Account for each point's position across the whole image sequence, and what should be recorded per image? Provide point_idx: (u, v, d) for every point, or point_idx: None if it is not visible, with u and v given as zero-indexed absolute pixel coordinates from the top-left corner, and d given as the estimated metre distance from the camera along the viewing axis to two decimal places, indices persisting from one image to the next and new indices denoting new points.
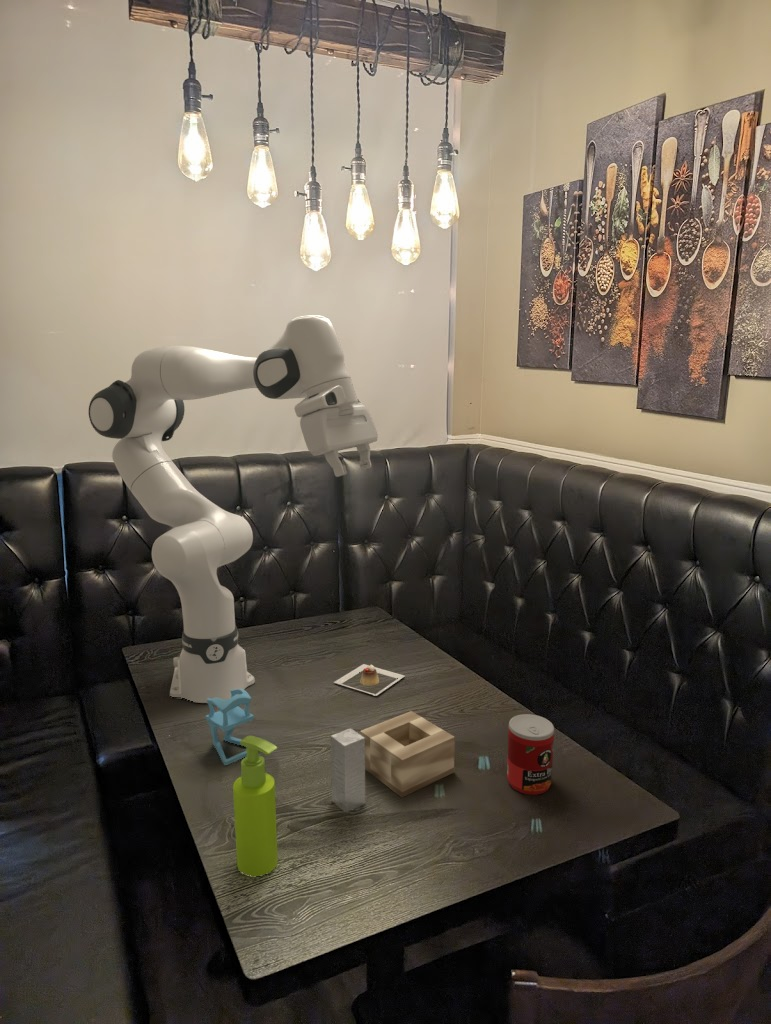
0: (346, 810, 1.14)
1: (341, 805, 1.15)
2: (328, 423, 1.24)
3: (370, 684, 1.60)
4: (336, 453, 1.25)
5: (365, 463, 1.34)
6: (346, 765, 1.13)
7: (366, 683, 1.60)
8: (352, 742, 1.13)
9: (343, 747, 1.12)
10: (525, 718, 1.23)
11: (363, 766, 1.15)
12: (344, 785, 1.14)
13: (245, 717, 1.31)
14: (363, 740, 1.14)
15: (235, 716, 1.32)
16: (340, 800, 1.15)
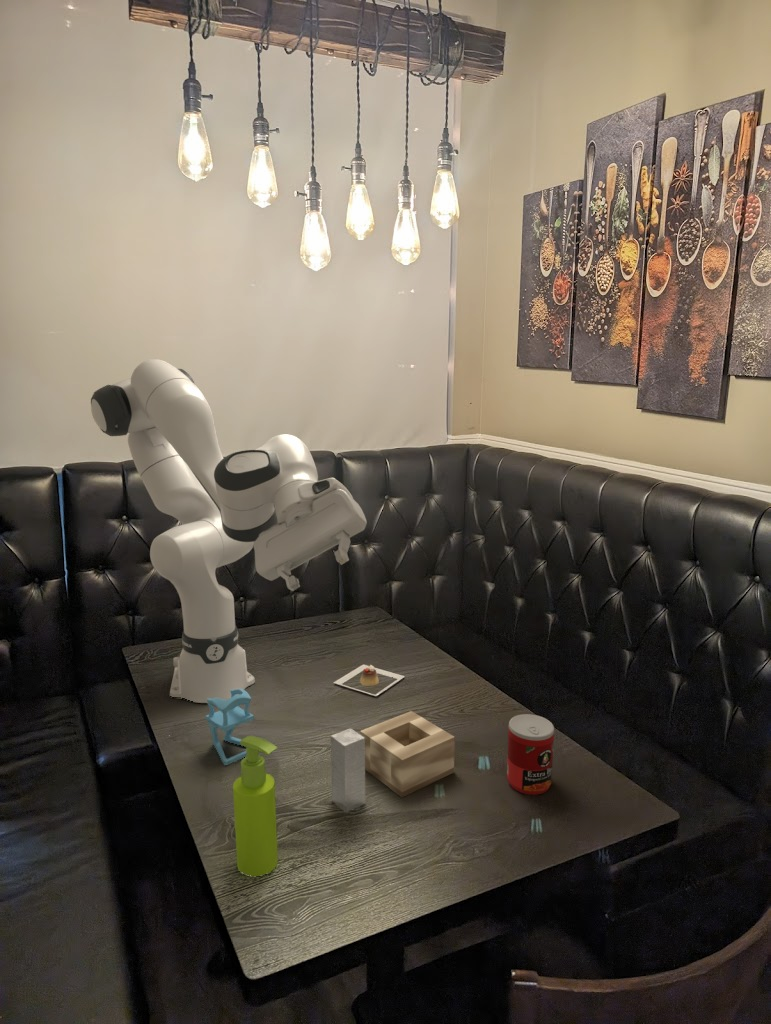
0: (346, 810, 1.14)
1: (341, 805, 1.15)
2: None
3: (370, 684, 1.59)
4: None
5: (296, 582, 1.14)
6: (346, 765, 1.13)
7: (366, 683, 1.59)
8: (352, 742, 1.13)
9: (343, 747, 1.12)
10: (525, 718, 1.23)
11: (363, 766, 1.15)
12: (344, 785, 1.14)
13: (245, 717, 1.31)
14: (363, 740, 1.14)
15: (235, 716, 1.32)
16: (340, 800, 1.15)
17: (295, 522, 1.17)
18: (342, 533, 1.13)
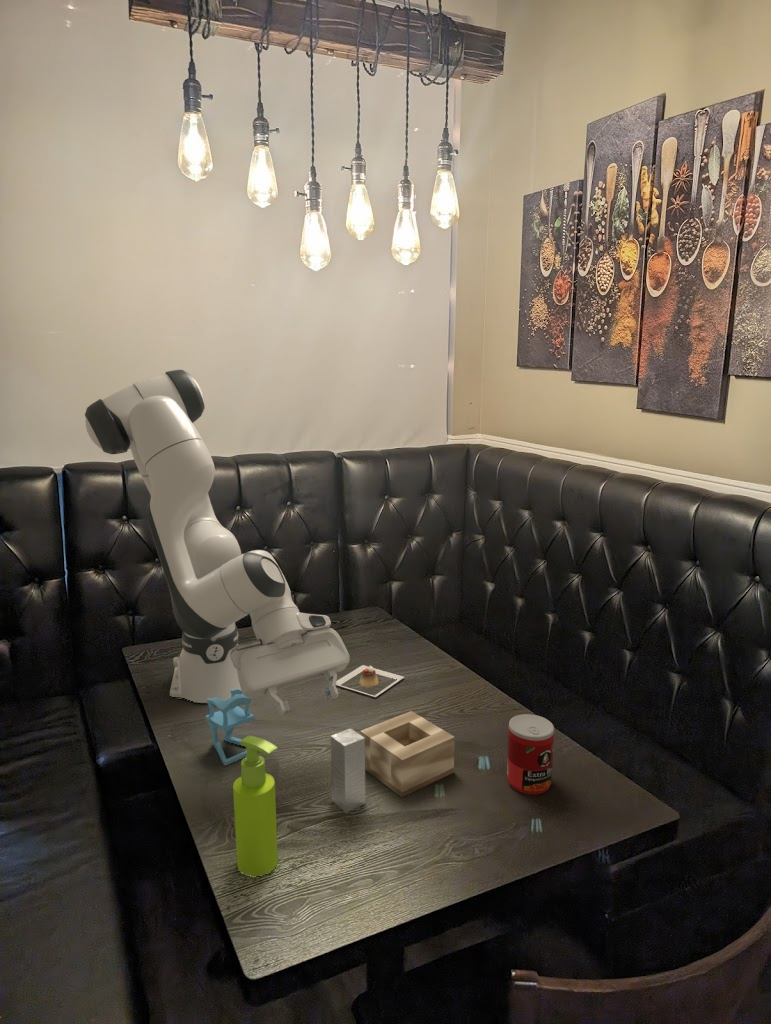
0: (346, 810, 1.14)
1: (341, 805, 1.15)
2: None
3: (369, 685, 1.59)
4: None
5: None
6: (346, 765, 1.13)
7: (365, 684, 1.59)
8: (352, 742, 1.13)
9: (343, 747, 1.12)
10: (525, 718, 1.23)
11: (363, 766, 1.15)
12: (344, 785, 1.14)
13: (245, 717, 1.31)
14: (363, 740, 1.14)
15: (235, 716, 1.32)
16: (340, 800, 1.15)
17: (287, 647, 1.22)
18: (334, 671, 1.24)
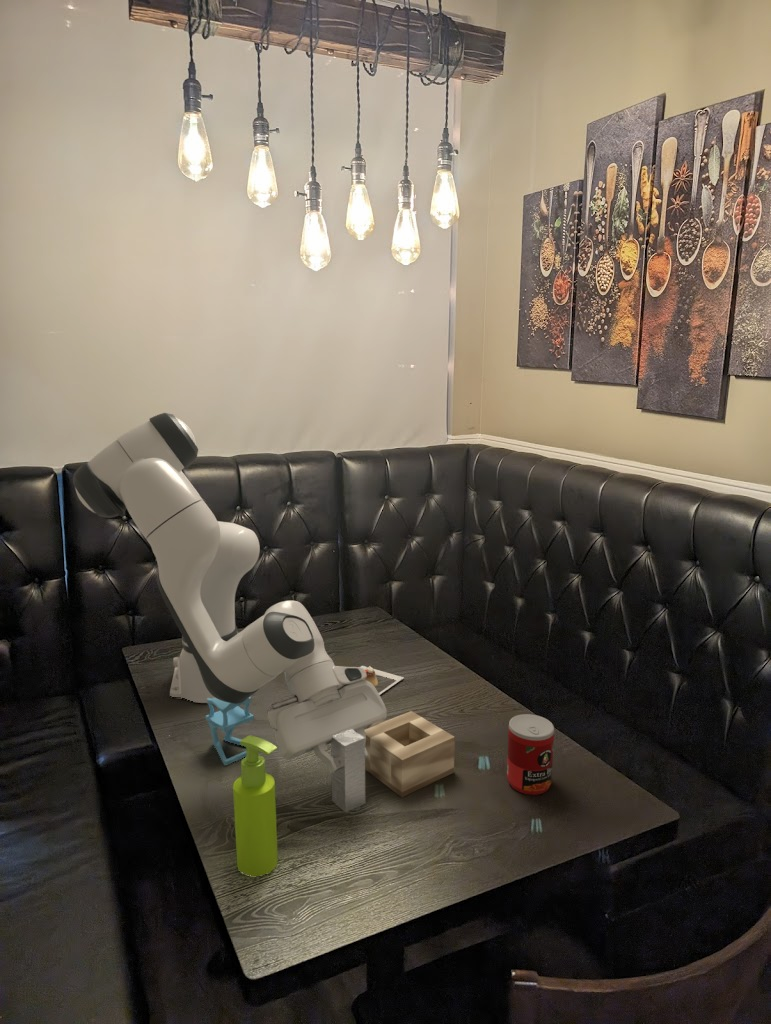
0: (346, 810, 1.14)
1: (341, 805, 1.15)
2: None
3: None
4: None
5: None
6: (346, 765, 1.13)
7: None
8: (352, 742, 1.13)
9: (343, 747, 1.12)
10: (525, 718, 1.23)
11: (363, 766, 1.15)
12: (344, 785, 1.14)
13: (245, 717, 1.31)
14: (363, 740, 1.14)
15: (235, 716, 1.32)
16: (340, 800, 1.15)
17: (325, 703, 1.18)
18: (363, 730, 1.19)
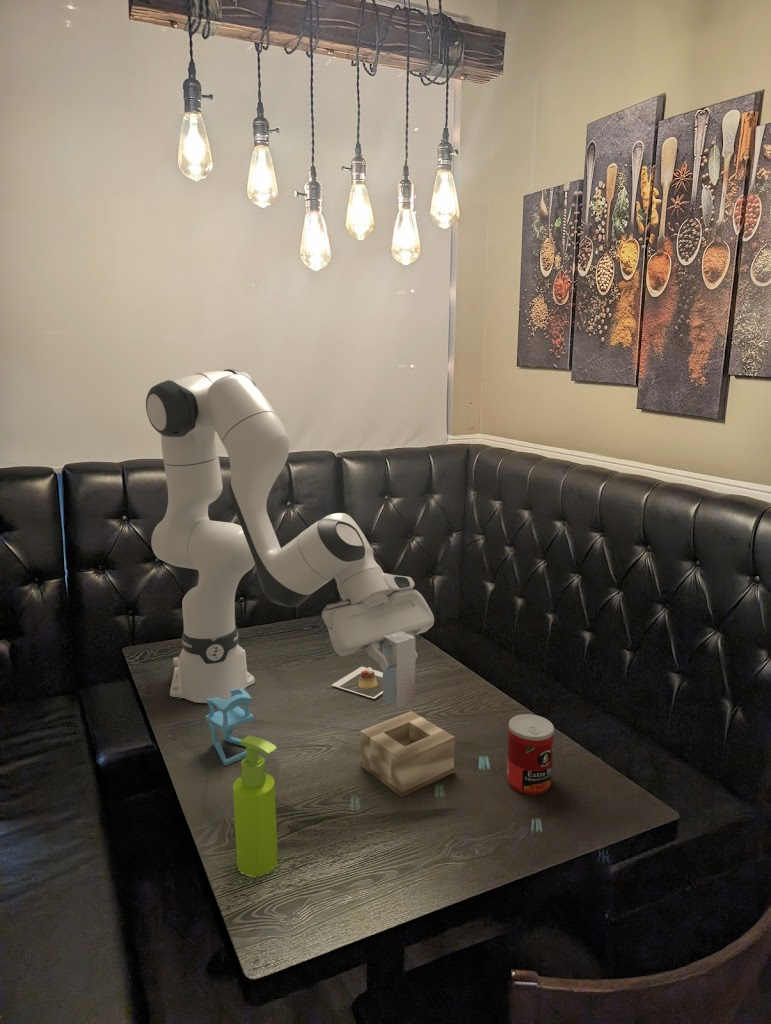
0: (397, 706, 1.19)
1: (392, 702, 1.20)
2: None
3: (368, 687, 1.58)
4: None
5: None
6: (398, 662, 1.18)
7: (364, 686, 1.58)
8: (404, 640, 1.18)
9: (396, 644, 1.17)
10: (525, 718, 1.23)
11: (413, 665, 1.20)
12: (396, 682, 1.18)
13: (245, 717, 1.31)
14: (414, 639, 1.19)
15: (235, 716, 1.32)
16: (391, 698, 1.20)
17: (376, 607, 1.23)
18: (412, 634, 1.24)
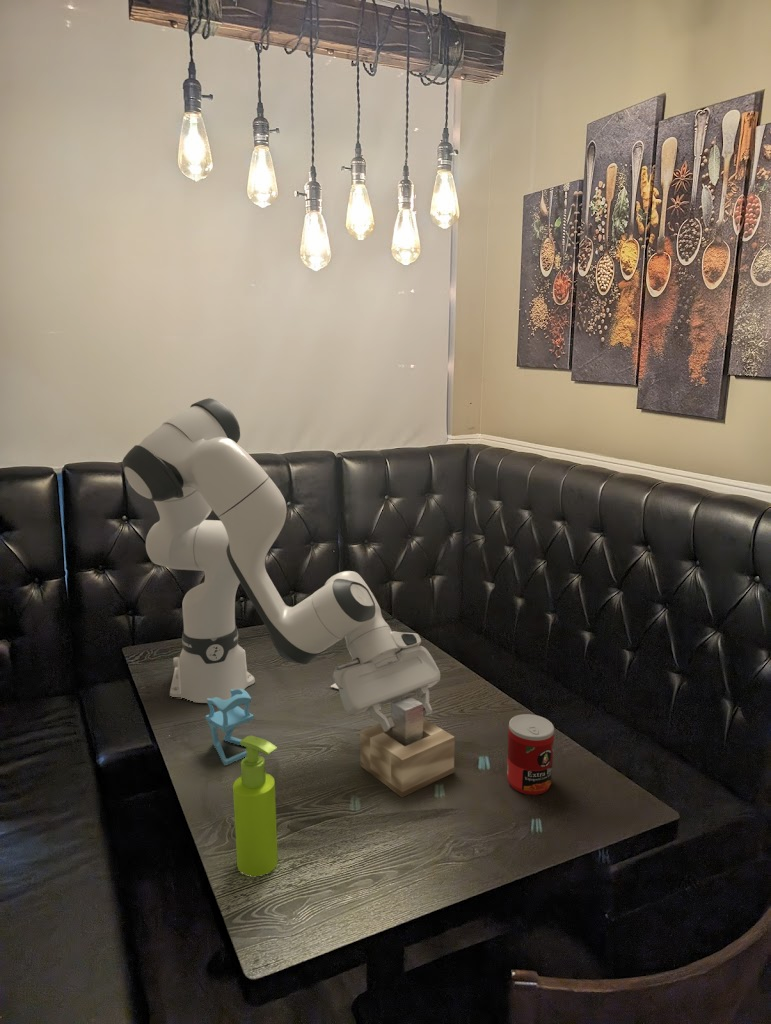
0: None
1: None
2: None
3: None
4: None
5: None
6: (407, 728, 1.22)
7: None
8: (412, 707, 1.22)
9: (404, 711, 1.21)
10: (525, 718, 1.23)
11: (421, 730, 1.24)
12: None
13: (245, 717, 1.31)
14: (422, 706, 1.23)
15: (235, 716, 1.32)
16: None
17: (384, 665, 1.26)
18: (426, 688, 1.29)
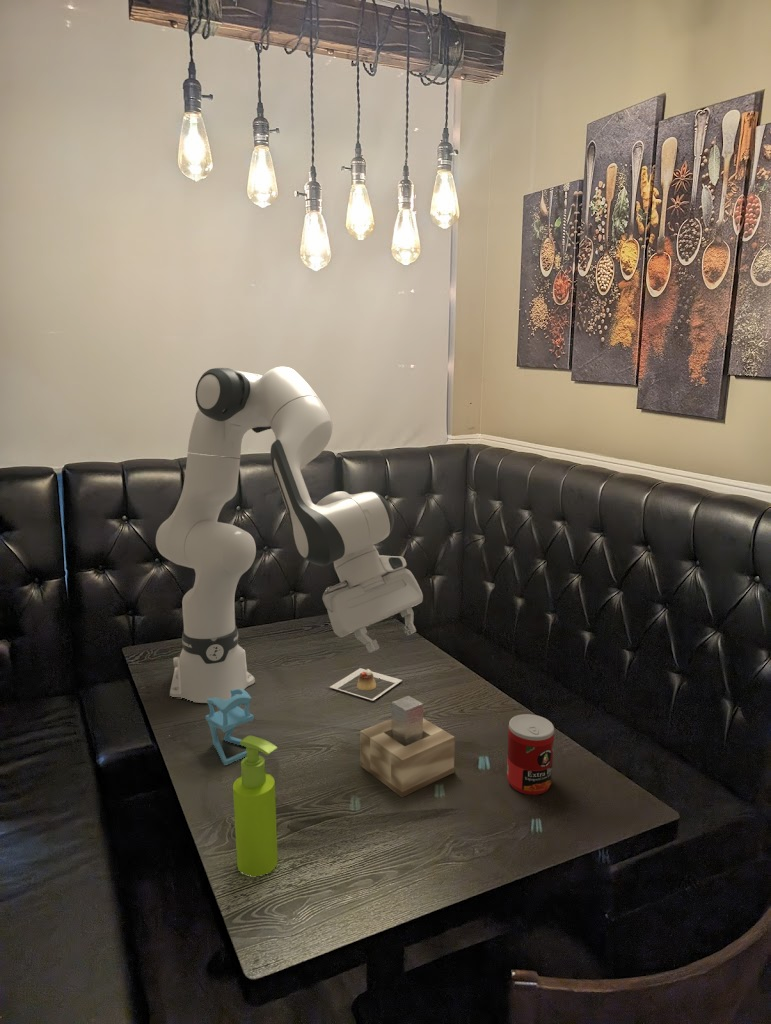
0: None
1: None
2: None
3: (367, 689, 1.57)
4: None
5: None
6: (407, 728, 1.22)
7: (363, 688, 1.57)
8: (412, 707, 1.22)
9: (404, 711, 1.21)
10: (525, 718, 1.23)
11: (421, 730, 1.24)
12: None
13: (245, 717, 1.31)
14: (422, 706, 1.23)
15: (235, 716, 1.32)
16: None
17: (372, 589, 1.30)
18: (411, 609, 1.34)
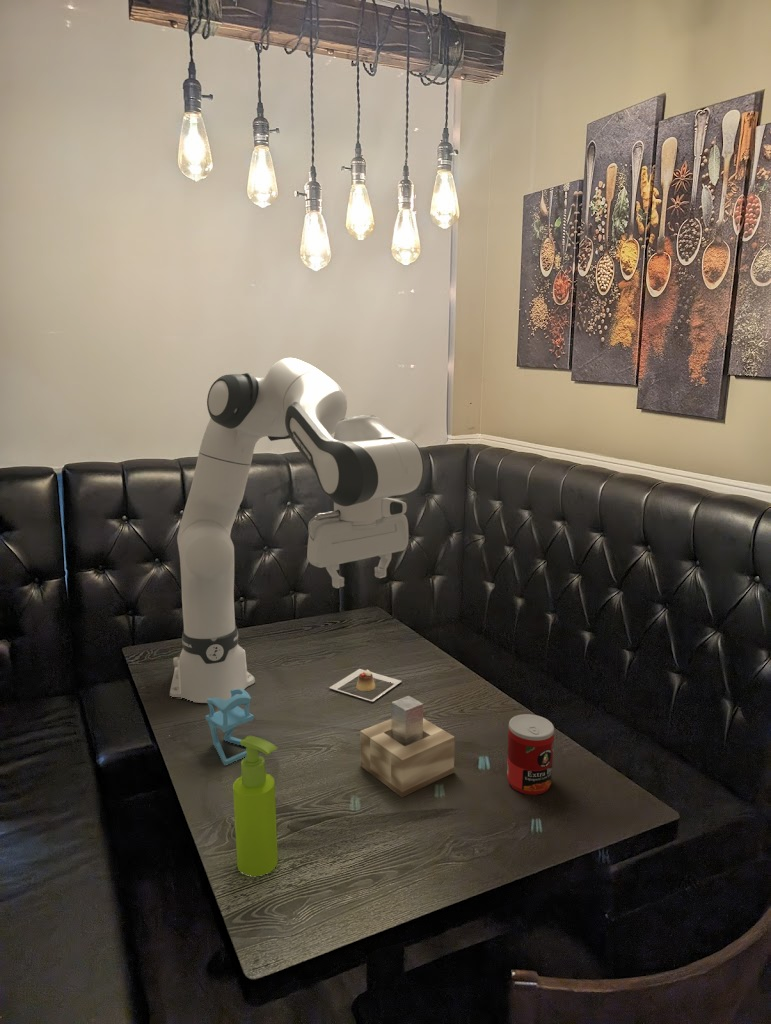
0: None
1: None
2: None
3: (366, 689, 1.57)
4: None
5: None
6: (407, 728, 1.22)
7: (362, 688, 1.57)
8: (412, 707, 1.22)
9: (404, 711, 1.21)
10: (525, 718, 1.23)
11: (421, 730, 1.24)
12: None
13: (245, 717, 1.31)
14: (422, 706, 1.23)
15: (235, 716, 1.32)
16: None
17: None
18: (390, 554, 1.29)
